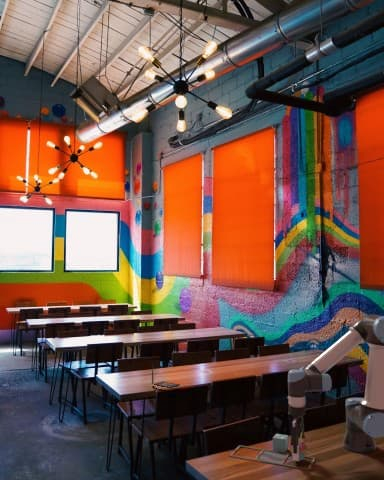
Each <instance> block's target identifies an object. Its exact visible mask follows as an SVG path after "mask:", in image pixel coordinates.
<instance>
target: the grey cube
mask: <svg viewBox="0 0 384 480" xmlns="http://www.w3.org/2000/svg"><path fill="white" fill-rule="evenodd" d="M289 444H290V443H289V435H288V434H281V433H275V434H274V436H273V437H272V451H278V452H284V453H287V451H288V446H289Z"/></svg>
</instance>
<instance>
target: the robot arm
mask: <svg viewBox="0 0 384 480" xmlns="http://www.w3.org/2000/svg"><path fill="white" fill-rule="evenodd" d="M364 343H366V344H367V345H368V347H369V351H368V352H369V353H368V361H367V362H368V363H367V370H366V379H365V381H366V382H365V389H364V390H365V391H364V397H349V398H346V399H345V405H344V406H345V426H346V430H345V433H344V436H343V440H342V446H343V447H344V448H345V449H347V450H348V451H351V452H354V453H363V454H366V453H367V454H368V453H373V452H376V450H377V443H376V440H375V438H377V439H379V438H383V437H384V315H379V314H375V313H370V314H367V315H364V316H363V317H361V318H360V319H358V320H357V321H356V322H354V323H353V324H351V326H350V327H349V328H348V331H347V332H345V334H344V335H343V336H341V337H340V338H339V339H337V340H336V341H335V342H334V343H333V344H332V345H331V346H330V347H329V348H327V349H326V350H325V351H324V352H323V353H321V355H319V356H318V357H317V358H315V359H314V360H313V361H312V362H311V363H310V364H308V365H307V366H302V367H300V368H299V369H295V368H294V369H293V368H292V369H290V370H289V371H288V373H287V391H288V393H287V394H288V396H287V399H288V413H289V415H290V416H292V419H291V421H290V426H291V427H290V428H291V429H290V443H291V444H290V443H289V444H290V445H292V455H293V457H292V461H296V462H299V461H300V460H299V445H298V441H300V435H301V432H302V439H301V442H303V443H304V439H306V436H305V427H304V426H305V425H304V416H305V415H307V414H306V413H307V412H306V409H307V408H306V406H305V405H306V392H326V391H327V392H329V391H331V389H332V387H333V385H332V384H333V383H332V382H333V381H332V377H331V375H330V374H328V373H326V372H328V371H329V370H330V369H332V367H334V366H335V365H336V364H338V362H339V361H341V360H342V359H343V358H344V357H345V356H347V355H348V354H349V353H350V352H352V351H353V350H354V349H355V348H357V347H358V346H359V344H364ZM292 455H291V456H292Z"/></svg>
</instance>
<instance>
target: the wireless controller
mask: <svg viewBox="0 0 384 480" xmlns="http://www.w3.org/2000/svg"><path fill="white" fill-rule="evenodd" d="M151 370H152V372H151V385H152V384H153V383H154V364H152V368H151ZM154 385H157V386H161V387H167V388H173V387H177V386H180V385H181V384H180V383H173V382H169V381H164V380H161V381H158V382H156V383H154Z"/></svg>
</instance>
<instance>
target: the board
mask: <svg viewBox="0 0 384 480" xmlns="http://www.w3.org/2000/svg"><path fill="white" fill-rule="evenodd" d="M240 448H243V449H245V448H246V449H252V450H257V451H260V452H259V453H258V454H257V456H255V458H251V457H245V456H238V455H235V453H237V451H238V450H240ZM289 456H292V454H291V452H290V453H289V452H280V451H274V450H273V449H272V450H271V449H266V448H265V449H264V448H259V447H253V446H247V445H242V444H241V445H238V446H237V447H236V448H235V449H234V450H233V451H232V452H231V453H230V454H229V456H228V457H231V458H236V459H242V460H248V461H254V462H260V463H265V464H269V465H275V466H282V467H285V468H286V467H287V468H293V469H299V470H305V471H311V469H312V467H313V465H314V464H315V461H316V460H317V457H314V456H308V455H304V458H305V459H311V462H309V465H308V467H303V466H297V465H291V464H286V461H287V459H288V458H289Z"/></svg>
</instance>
